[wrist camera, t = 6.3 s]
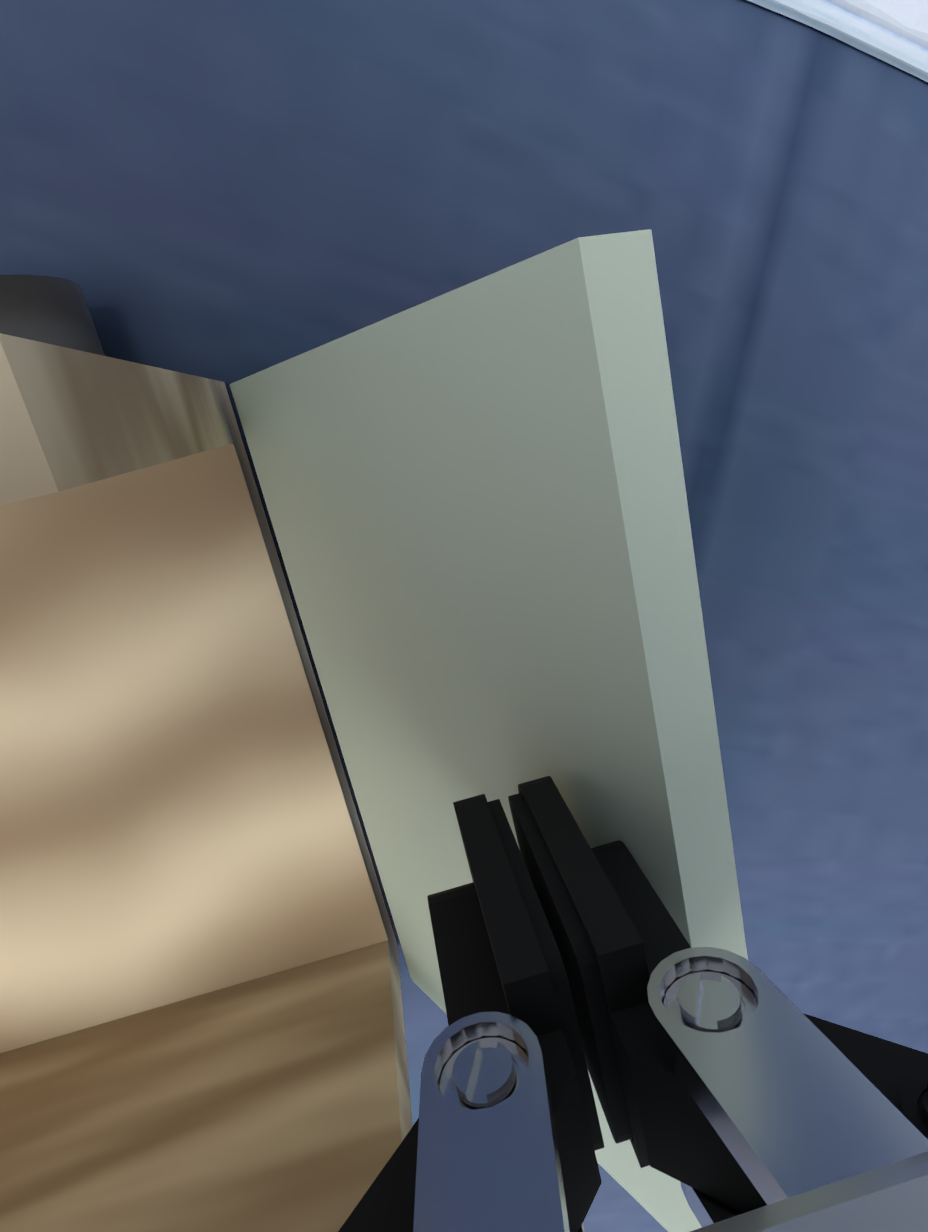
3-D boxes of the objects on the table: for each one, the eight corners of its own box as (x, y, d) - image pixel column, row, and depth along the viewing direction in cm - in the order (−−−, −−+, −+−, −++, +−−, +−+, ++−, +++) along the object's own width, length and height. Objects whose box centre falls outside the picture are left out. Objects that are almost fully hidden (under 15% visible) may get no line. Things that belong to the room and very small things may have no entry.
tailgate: (229, 384, 17) (578, 238, 8) (299, 370, 18) (684, 225, 9) (411, 979, 22) (749, 1311, 13) (458, 945, 23) (804, 1232, 14)
